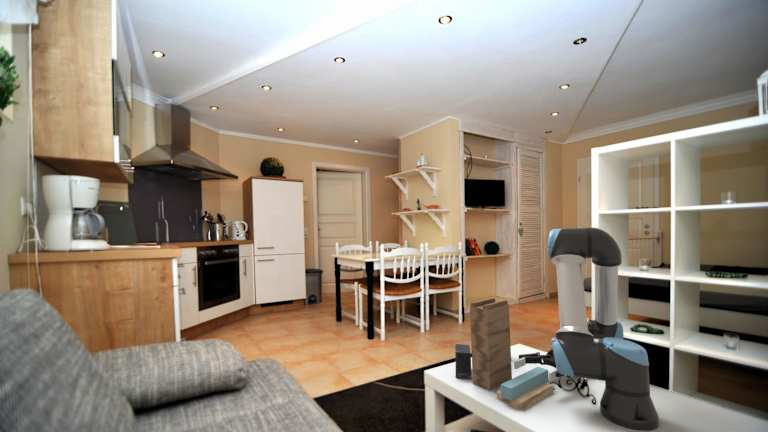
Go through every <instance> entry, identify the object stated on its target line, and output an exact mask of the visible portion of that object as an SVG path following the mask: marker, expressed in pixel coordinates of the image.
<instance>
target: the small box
mask: <svg viewBox="0 0 768 432" xmlns="http://www.w3.org/2000/svg"><path fill="white" fill-rule="evenodd" d="M454 347H455V350H454V352H455V378H458V379H472V352H471V347H470V344H460V343H455V346H454Z"/></svg>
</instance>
